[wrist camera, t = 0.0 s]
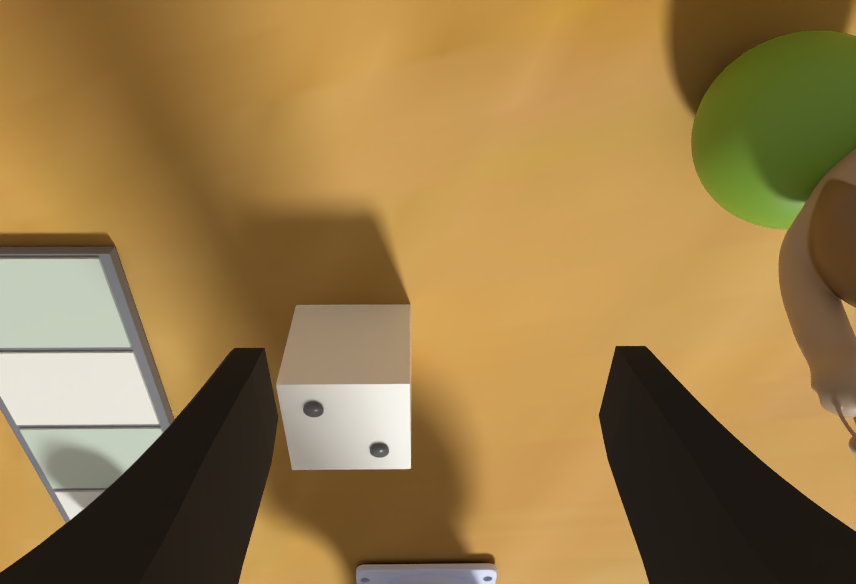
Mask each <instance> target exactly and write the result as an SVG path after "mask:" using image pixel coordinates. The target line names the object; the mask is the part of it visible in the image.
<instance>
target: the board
mask: <svg viewBox="0 0 856 584" xmlns="http://www.w3.org/2000/svg"><path fill="white" fill-rule="evenodd" d="M0 409H1V411H2V413H3V414H4V416H5V418H6V420H7V421H8V423H9V425H10V427H11V428H12V430H13V432H14V434H15V435H16V437H17V439H18V441H19V442H20V444H21V446H22V447H23V449H24V451H25V453H26V454H27V456H28V458H29V460H30V461H31V463H32V465H33V467H34V468H35V470H36V472H37V474H38V475H39V477H40V479H41V481H42V482H43V484H44V486H45V487H46V489H47V491H48V493H49V494H50V496H51V498H52V500H53V501H54V503H55V505H56V507H57V508H58V510H59V512H60V514H61V515H62V517H63V519H64V521H65V522H66V523H67V522H69V521H70V520H71V519H72V518H73V517H75V516H76V515H77V514H78V513H79V512H81V511H82V510H83V509H84V508H85V507H87V506H88V505H89V504H90V503H91V502H93V501H94V500H95V499H96V498H97V497H98V496H99V495H100V494H101V493H103V492H104V491H105V490H106V489H107V488H108V487H109V486H110V485H111V484H113V483H114V482H115V481H116V480H117V479H118V478H119V477H120V476H121V475H122V474H123V473H124V472H125V471H126V470H127V469H128V468H129V467H130V466H131V465H132V464H133V463H134V462H135V461H136V460H137V459H138V458H139V457H140V456H141V455H142V454H143V453H144V452H145V451H146V450H147V449H148V448H149V447H150V446H151V445H152V444H153V443H154V442H155V441H156V439H157V438H158V437H159V436H160V435H161V434H162V433H163V432H164V431H165V430H166V429H167V428H168V427H169V426H170V424H171V423H172V422H173V421H174V417H173V415H172V412H171V409H170V406H169V403H168V400H167V397H166V394H165V391H164V388H163V385H162V382H161V379H160V376H159V374H158V371H157V368H156V365H155V362H154V359H153V356H152V353H151V350H150V347H149V344H148V341H147V338H146V336H145V333H144V330H143V327H142V324H141V321H140V318H139V315H138V312H137V309H136V306H135V303H134V300H133V297H132V295H131V292H130V289H129V286H128V283H127V280H126V277H125V274H124V271H123V268H122V265H121V262H120V259H119V256H118V254H117V251H116V248H115V246H90V247H0Z"/></svg>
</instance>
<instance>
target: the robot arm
mask: <svg viewBox="0 0 856 584" xmlns="http://www.w3.org/2000/svg"><path fill="white" fill-rule="evenodd" d="M599 418H600V423H601V429H602V434H603V439H604V444H605V448H606V453H607V457H608V461H609V464H610V467H611V470H612V473H613V476H614V479H615V482H616V485H617V488H618V491H619V494H620V497H621V500H622V503H623V506H624V509H625V511H626V514H627V517H628V520H629V523H630V526H631V529H632V532H633V534H634V537H635V540H636V543H637V546H638V549H639V552H640V555H641V558H642V560H643V564H644V567H645V570H646V574H647V577H648V580H649V584H856V531H854V530H853V529H851V528H850V527H848V526H847V525H845V524H844V523H842V522H841V521H840V520H838V519H837V518H835V517H834V516H832V515H831V514H829V513H828V512H827V511H825V510H824V509H822V508H821V507H820V506H818V505H817V504H816V503H814V502H813V501H811V500H810V499H809V498H807V497H806V496H805V495H804V494H802V493H801V492H800V491H799V490H797V489H796V488H795V487H793V486H792V485H791V484H790V483H788V482H787V481H786V480H784V479H783V478H782V477H781V476H779V475H778V474H777V473H776V472H774V471H773V470H772V469H771V468H770V467H768V466H767V465H766V464H765V463H764V462H762V461H761V460H760V459H759V458H758V457H757V456H756V455H754V454H753V453H752V452H751V451H750V450H749V449H748V448H747V447H745V446H744V445H743V444H742V443H741V442H740V441H739V440H738V439H737V438H735V437H734V436H733V435H732V434H731V433H730V432H729V431H728V430H727V429H726V428H725V427H724V426H723V425H722V424H721V423H720V422H718V421H717V420H716V419H715V418H714V417H713V416H712V415H711V414H710V413H709V412H708V411H707V410H706V409H705V408H704V407H703V406H702V405H701V404H700V403H699V402H698V401H697V400H696V399H695V398H694V397H693V396H692V395H691V394H690V392H689V391H688V390H687V389H686V388H685V387H684V386H683V385H682V384H681V383H680V382H679V381H678V380H677V379H676V378H675V377H674V376H673V375H672V374H671V372H670V371H669V370H668V369H667V368H666V367H665V366H664V365H663V364H662V363H661V362H660V361H659V360H658V359H657V358H656V357H655V355H654V354H653V353H652V352H651V351H650V350H649V349H648V348H647V347H646V346H616V348H615V352H614V356H613V360H612V364H611V368H610V372H609V376H608V380H607V384H606V388H605V393H604V397H603V401H602V405H601V409H600V413H599ZM277 421H278V414H277V409H276V404H275V399H274V394H273V389H272V384H271V379H270V374H269V369H268V363H267V358H266V353H265V348H234V349H233V350H232V351H231V352H230V353H229V354H228V355H227V357H226V358H225V359H224V361H223V362H222V363H221V364H220V366H219V367H218V368H217V369H216V371H215V372H214V373H213V374H212V376H211V377H210V378H209V379H208V381H207V382H206V383H205V384H204V386H203V387H202V388H201V389H200V390H199V392H198V393H197V394H196V395H195V397H194V398H193V399H192V400H191V401H190V402H189V404H188V405H187V406H186V407H185V408H184V409H183V411H182V412H181V413H180V414H179V415H178V416H177V417H176V419H175V420H174V421H173V422H172V423H171V424H170V426H169V427H168V428H167V429H166V430H165V431H164V432H163V433H162V434H161V435H160V436H159V437H158V438H157V439H156V441H155V442H154V443H153V444H152V445H151V446H150V447H149V448H148V449H147V450H146V451H145V452H144V453H143V454H142V455H141V456H140V457H139V458H138V459H137V460H136V461H135V462H134V463H133V464H132V465H131V466H130V467H129V468H128V469H127V470H126V471H125V472H124V473H123V474H122V475H121V476H120V477H119V478H118V479H117V480H116V481H115V482H114V483H113V484H111V485H110V486H109V487H108V488H107V489H106V490H105V491H104V492H103V493H101V494H100V495H99V496H98V497H97V498H96V499H95V500H94V501H93V502H91V503H90V504H89V505H88V506H87V507H85V508H84V509H83V510H82V511H81V512H79V513H78V514H77V515H76V516H75V517H73V518H72V519H71V520H70V521H69V522H67V523H66V524H65V525H64V526H62V527H61V528H60V529H59V530H57V531H56V532H55V533H53V534H52V535H51V536H50V537H48V538H47V539H46V540H45V541H43V542H42V543H41V544H40V545H38V546H37V547H36V548H34V549H33V550H31V551H30V552H29V553H27V554H26V555H25V556H23V557H22V558H20V559H19V560H18V561H16V562H15V563H13V564H12V565H11V566H9V567H8V568H6V569H5V570H4V571H2V572H1V573H0V584H238V583H239V579H240V574H241V570H242V566H243V562H244V559H245V555H246V552H247V548H248V544H249V541H250V537H251V534H252V530H253V527H254V523H255V520H256V516H257V513H258V509H259V506H260V502H261V498H262V495H263V491H264V488H265V484H266V480H267V477H268V473H269V469H270V466H271V461H272V455H273V449H274V443H275V436H276V428H277ZM496 577H497V568H496V566H495V565H494V564H491V563H459V564H369V565H360V566H358V567H357V568H356V582H357V584H496Z"/></svg>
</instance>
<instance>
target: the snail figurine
mask: <svg viewBox="0 0 856 584" xmlns="http://www.w3.org/2000/svg"><path fill="white" fill-rule="evenodd" d="M691 146H692V156H693V161H694V165H695V168H696V171H697V174H698V176H699V178H700V180H701V182H702V184H703V186H704V187H705V189H706V190H707V192H708V193H709V194H710V195H711V197H712V198H713V199H714V200H715V201H716V202H717V203H718V204H719V205H720V206H722V207H723V208H724V209H725V210H727V211H728V212H730V213H731V214H733V215H735V216H736V217H738V218H740V219H742V220H745V221H747V222H750V223H752V224H755V225H759V226H763V227H768V228H774V229H788V231H787V233H786V235H785V237H784V240H783V242H782V245H781V249H780V254H779V283H780V289H781V295H782V299H783V303H784V307H785V310H786V313H787V316H788V319H789V322H790V324H791V327H792V330H793V333H794V335H795V338H796V340H797V343H798V345H799V347H800V349H801V351H802V353H803V355H804V357H805V359H806V360H807V363H808V365H809V367H810V371H811V386H812V389H813V390H814V391H815V392H816V393H817V394H818V396H819V398H820V403H821V405H822V407H823V408H824V409H826V410H827V411H829V412H831V413H833V414H835V415H839V417H840V418H841V420H842V422H843V423H844V425H845V426H846V428H847V429H848V431H849V432H850V433H851V435H852V436H853V437H852V438H851V439H850V441H849V447H850V449H851V451H852V452H853V453H854V454H855V455H856V433H855V432H854V431H853V430H852V429H851V427H850V426H849V425H848V423H847V421H846V420H845V418H844V417H852V418H853V419H854V421H855V423H856V337H855V334H854V332H853V330H852V327H851V325H850V322H849V320H848V317H847V315H846V312H845V310H844V307H843V304H842V301H841V299H842V300H844V301H845V302H846V303H848V304H850V305H852V306H854V307H856V36H853V35H850V34H846V33H842V32H836V31H827V30H810V31H800V32H794V33H789V34H785V35H782V36H778V37H775V38H773V39H770V40H767V41H765V42H763V43H761V44H759V45H757V46H755V47H753V48H751V49H750V50H748V51H746V52H745V53H743V54H742V55H740V56H739V57H738V58H736V59H735V60H734V61H733V62H731V63H730V64H729V65H728V66H727V67H726V68H725V69H724V70H723V71H722V72H721V73H720V74H719V75H718V76H717V78H716V79H715V80H714V81H713V83H712V84H711V85H710V87H709V88H708V90H707V91H706V93H705V95H704V97H703V99H702V101H701V103H700V105H699V107H698V110H697V113H696V116H695V119H694V124H693V129H692V139H691Z"/></svg>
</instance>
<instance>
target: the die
mask: <svg viewBox="0 0 856 584" xmlns="http://www.w3.org/2000/svg"><path fill="white" fill-rule="evenodd" d="M276 388H277V393H278V398H279V404H280V409H281V414H282V419H283V425H284V430H285V435H286V440H287V446H288V451H289V456H290V461H291V467H292V470H352V469H411V306H410V304H394V305H296V307H295V311H294V315H293V319H292V323H291V327H290V331H289V335H288V339H287V343H286V347H285V351H284V355H283V359H282V363H281V367H280V371H279V375H278V378H277V382H276Z"/></svg>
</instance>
